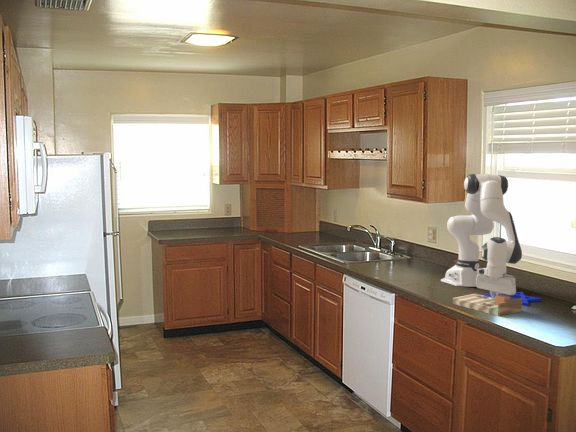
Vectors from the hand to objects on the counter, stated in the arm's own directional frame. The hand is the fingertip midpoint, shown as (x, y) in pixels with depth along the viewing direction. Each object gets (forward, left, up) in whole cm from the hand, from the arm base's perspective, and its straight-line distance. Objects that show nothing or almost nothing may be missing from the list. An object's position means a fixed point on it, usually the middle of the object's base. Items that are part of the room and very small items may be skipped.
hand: (494, 300), depth 295 cm
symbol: (-9, +25, -5) cm, 27 cm away
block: (+4, 0, -1) cm, 4 cm away
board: (-5, 0, -4) cm, 7 cm away
